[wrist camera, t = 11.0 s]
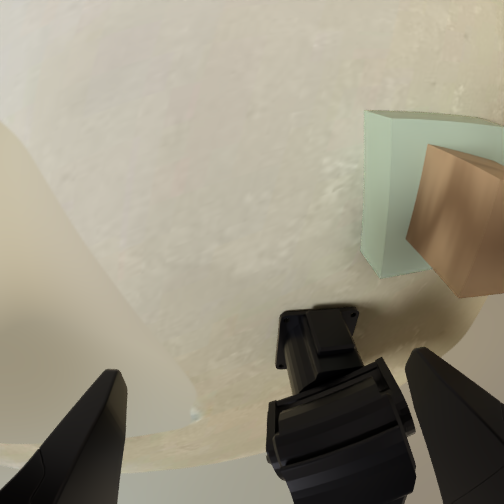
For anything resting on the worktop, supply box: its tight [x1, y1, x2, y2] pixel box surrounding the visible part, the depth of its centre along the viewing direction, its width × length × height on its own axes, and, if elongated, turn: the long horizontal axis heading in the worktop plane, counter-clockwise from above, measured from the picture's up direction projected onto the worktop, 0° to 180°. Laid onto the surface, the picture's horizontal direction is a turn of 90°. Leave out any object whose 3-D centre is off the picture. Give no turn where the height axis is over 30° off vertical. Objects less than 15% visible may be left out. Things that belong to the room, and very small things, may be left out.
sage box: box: [360, 110, 504, 279], centre depth 19 cm, size 10×10×4 cm
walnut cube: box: [406, 144, 504, 298], centre depth 14 cm, size 6×6×6 cm
